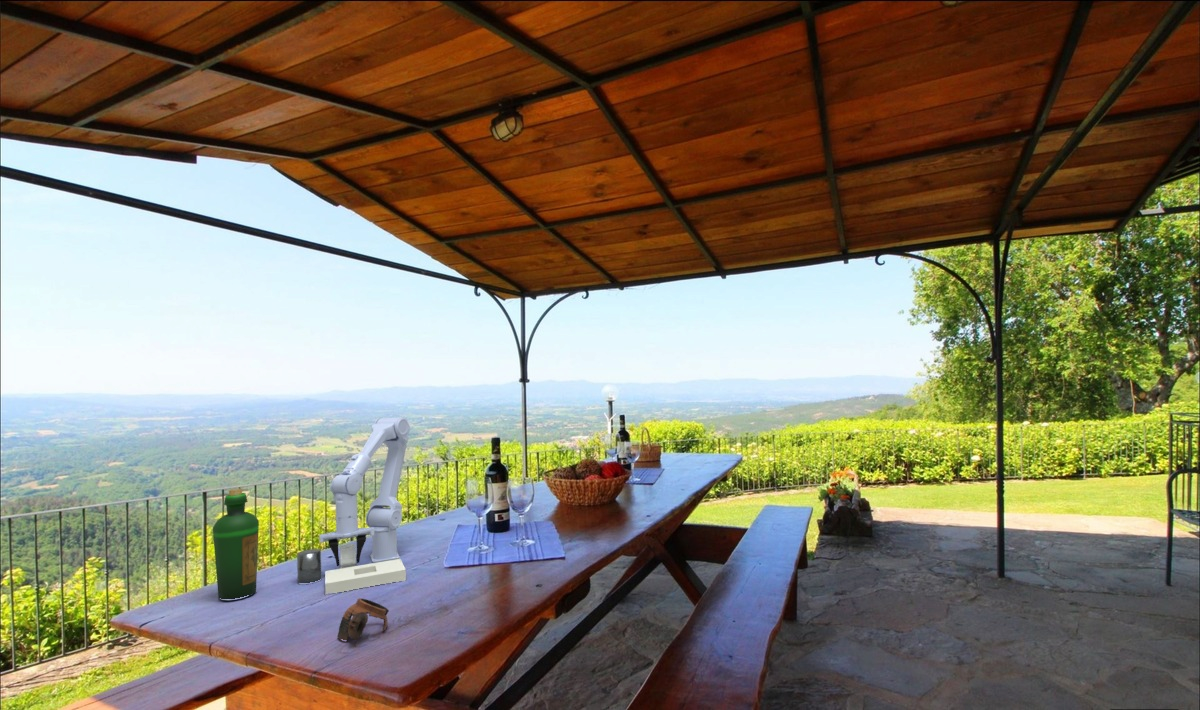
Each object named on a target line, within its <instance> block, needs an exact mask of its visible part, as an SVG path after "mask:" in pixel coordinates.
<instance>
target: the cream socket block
mask: <svg viewBox="0 0 1200 710" xmlns="http://www.w3.org/2000/svg"><path fill="white" fill-rule="evenodd" d="M403 563H404V562H403V561H402V559H401V558H399V559H393V560H387V561H381V562H375V563H373V562H371V563H367V564H361V565H360V564H359V565H356V566H353V567H347V568H341V569H340V568H336V569H330V570H325V571H324V573H325V574H324V575H325V577H324V580H325V583H324V584H325V586H324V587H325V588H324V589H325V595H326V594H328V593H336V594H338V593H337V592H342V593H345V592H344V591H347V592H350V591H349V590H353V589H358V590H360V589H359V588H363V587H369V588H371V587H370V586H374V587H376V586H375V585H380V584H385V585H387V584H386V583H391V584H393V583H392V582H396V583H400V582H399V581H402V582H406V581H407V573H406V572H407V571H406V570H407V569H406V567H405V566H404V564H403ZM405 580H406V581H405ZM380 586H381V585H380ZM363 589H364V588H363ZM353 591H354V590H353Z"/></svg>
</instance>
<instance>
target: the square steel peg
mask: <svg viewBox="0 0 1200 710" xmlns="http://www.w3.org/2000/svg"><path fill="white" fill-rule="evenodd" d="M356 555H357V549H356V543H350V544H343V545H340V546H339V566H340V568H339V569H341V568H347V567H353V566H357V561H356Z"/></svg>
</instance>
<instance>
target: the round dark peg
mask: <svg viewBox="0 0 1200 710" xmlns="http://www.w3.org/2000/svg"><path fill="white" fill-rule="evenodd" d="M296 559H297V560H296V561H297V562H296V565H297V571H296V573H297V584H298V583H310V582H315V581H318V580H320V579H321V578H322V549H319V548H312V549H311V548H310V549H306V550H302V551H299V552H298V553H296ZM321 580H322V579H321ZM321 580H320V581H321ZM318 582H319V581H318Z"/></svg>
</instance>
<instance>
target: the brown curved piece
mask: <svg viewBox="0 0 1200 710" xmlns="http://www.w3.org/2000/svg"><path fill="white" fill-rule="evenodd" d="M389 612H390V611H389V609H388V608H387V607H386V606H384V605H383V604H380V603H377V602H375V601H373V600H369V599H366V598H357V600H356V603H354V604H352V605H351V606H349V607H348V608H347V609H346V611H344V614H343V616H342V617H341V620H340V623H339V627H338V633H337V638H338V639H339V640H340V639H343V640H347V639H348V640H349V638H350V639H352V640H358V639H361V637H362V634H363V631H364V628H365V627H366V625H367V623H368V621H369V620H368V619H369V617H373V618H376V619H377V618H378V619H380V620H383V626H382V631H383V632H385V631H386V630H385V629H386V628H388V627H387V626H388V617H387V615H388V613H389ZM368 614H369V615H368ZM384 630H385V631H384Z"/></svg>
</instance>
